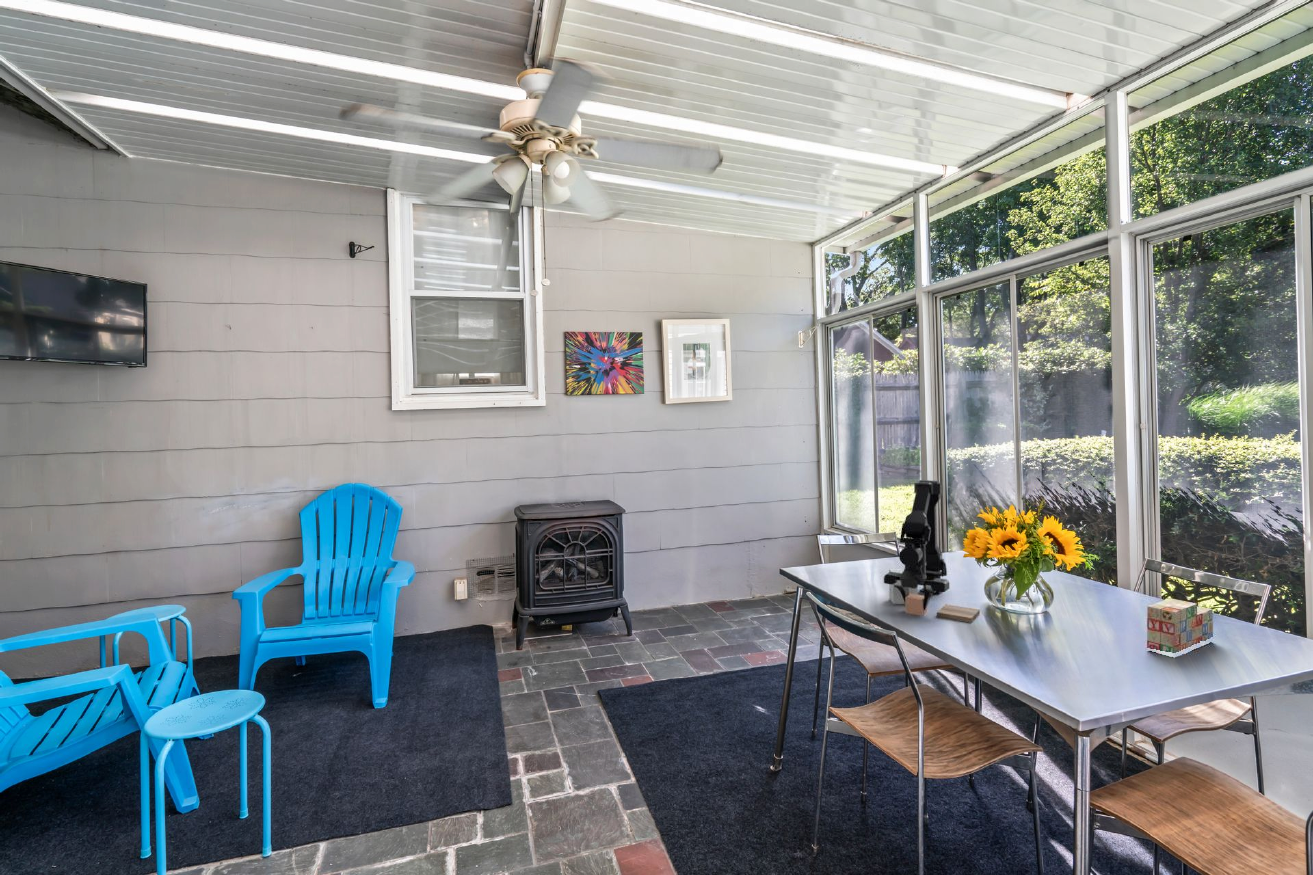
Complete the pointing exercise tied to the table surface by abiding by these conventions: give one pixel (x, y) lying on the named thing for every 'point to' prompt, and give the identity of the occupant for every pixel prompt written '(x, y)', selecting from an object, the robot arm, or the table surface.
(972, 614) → the walnut base
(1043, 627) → the table surface
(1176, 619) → the stack of blocks
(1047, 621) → the table surface
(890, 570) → the small box
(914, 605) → the terracotta cube
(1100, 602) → the table surface
